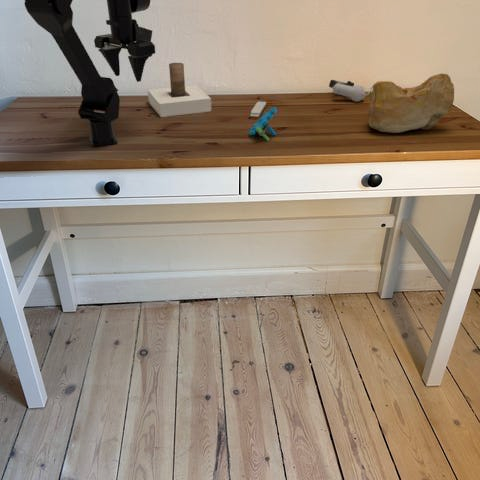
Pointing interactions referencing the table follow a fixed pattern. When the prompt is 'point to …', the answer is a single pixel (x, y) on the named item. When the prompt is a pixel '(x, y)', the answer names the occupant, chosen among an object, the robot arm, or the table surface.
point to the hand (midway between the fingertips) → (128, 78)
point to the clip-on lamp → (348, 90)
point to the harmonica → (257, 110)
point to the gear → (264, 124)
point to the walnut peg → (177, 79)
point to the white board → (179, 101)
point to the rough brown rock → (410, 104)
